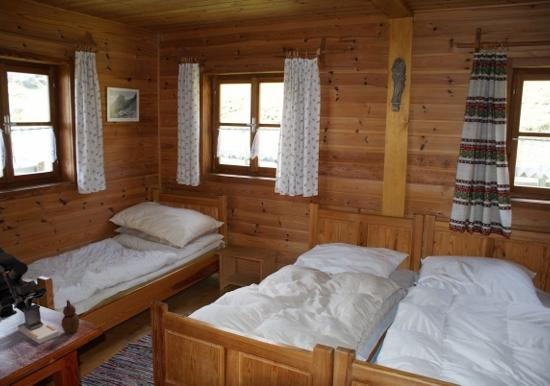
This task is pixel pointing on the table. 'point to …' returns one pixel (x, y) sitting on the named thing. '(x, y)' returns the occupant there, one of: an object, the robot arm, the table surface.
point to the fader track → (39, 332)
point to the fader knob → (32, 317)
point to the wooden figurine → (70, 319)
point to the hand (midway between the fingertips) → (30, 316)
